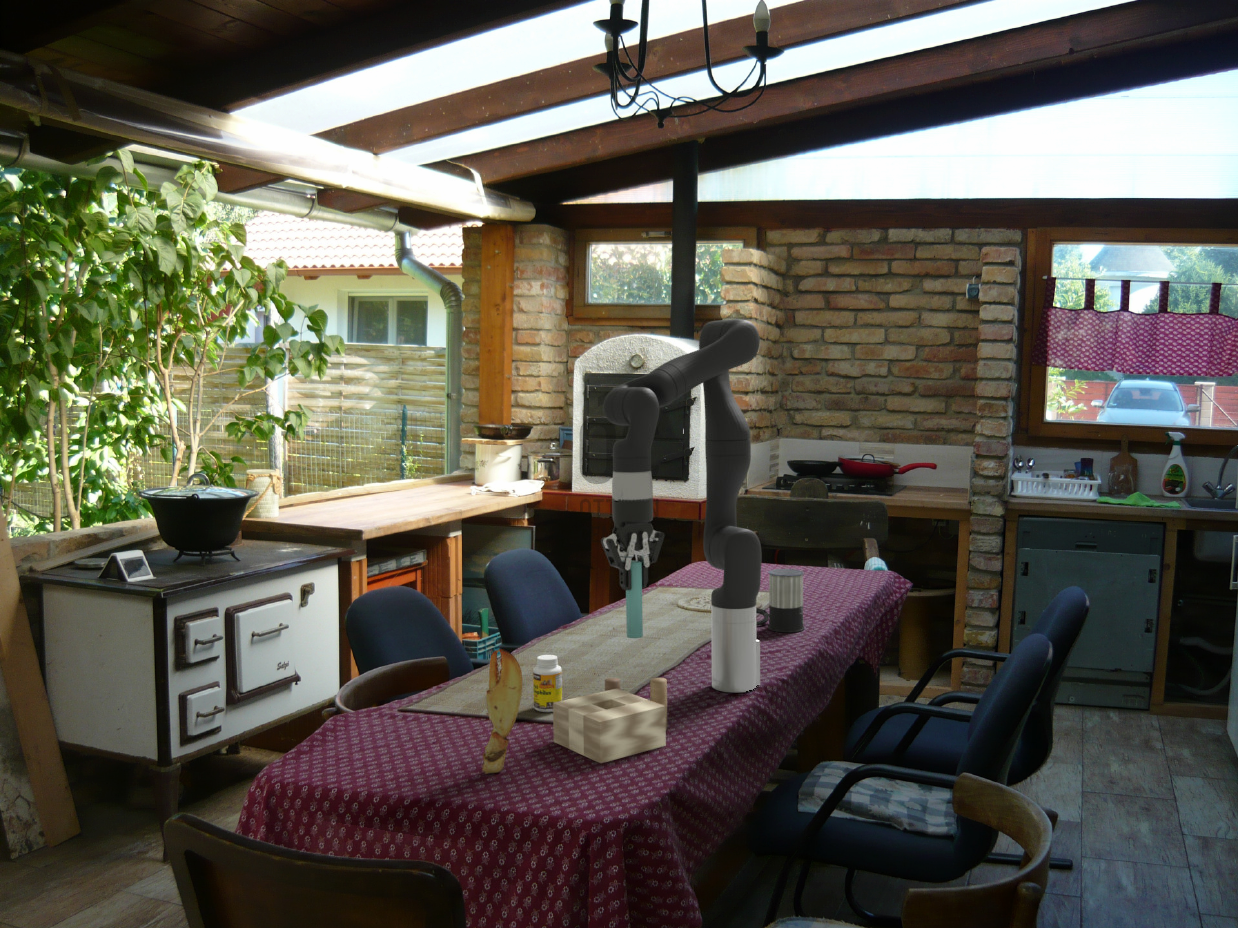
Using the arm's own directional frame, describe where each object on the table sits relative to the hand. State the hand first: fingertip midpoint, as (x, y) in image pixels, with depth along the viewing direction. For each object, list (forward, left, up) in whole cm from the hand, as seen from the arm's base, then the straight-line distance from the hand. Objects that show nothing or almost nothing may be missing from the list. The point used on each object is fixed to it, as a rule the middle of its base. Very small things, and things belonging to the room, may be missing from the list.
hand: (633, 587), depth 199 cm
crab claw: (+34, +8, -25) cm, 43 cm away
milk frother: (-75, -38, -25) cm, 88 cm away
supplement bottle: (+9, -16, -25) cm, 31 cm away
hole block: (+12, +8, -25) cm, 29 cm away
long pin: (0, 0, -9) cm, 9 cm away
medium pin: (0, +7, -25) cm, 26 cm away
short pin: (0, -7, -25) cm, 26 cm away
